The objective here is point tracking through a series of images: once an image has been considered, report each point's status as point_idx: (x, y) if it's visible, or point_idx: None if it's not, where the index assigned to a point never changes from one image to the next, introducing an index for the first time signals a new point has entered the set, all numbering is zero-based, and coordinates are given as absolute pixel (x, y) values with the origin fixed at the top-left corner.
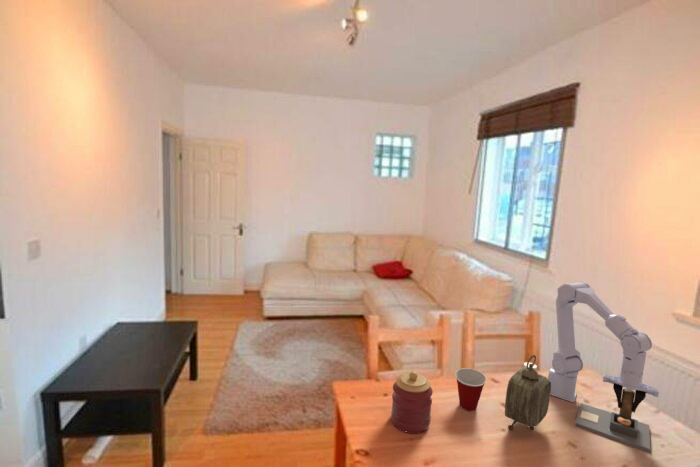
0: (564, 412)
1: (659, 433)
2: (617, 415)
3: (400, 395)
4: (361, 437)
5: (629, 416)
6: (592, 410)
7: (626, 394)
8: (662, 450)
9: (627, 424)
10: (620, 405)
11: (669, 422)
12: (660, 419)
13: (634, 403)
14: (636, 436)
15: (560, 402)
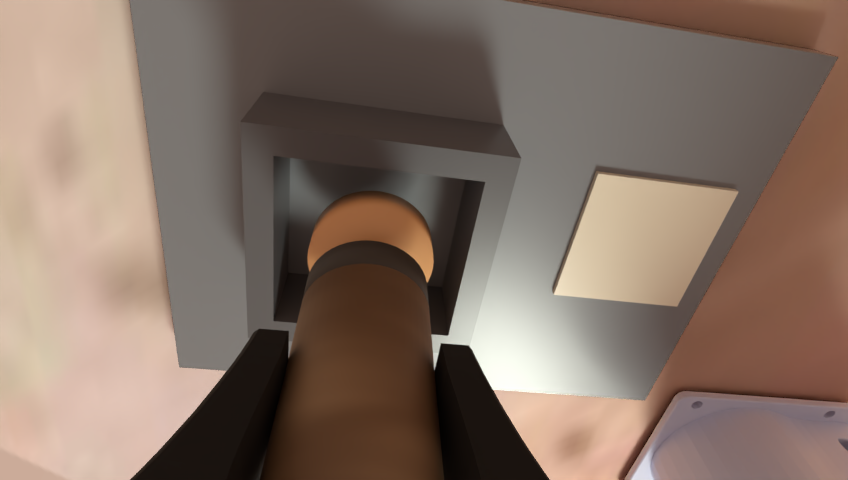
0: (816, 229)
1: (111, 318)
2: None
3: None
4: None
5: (323, 279)
6: (581, 347)
7: None
8: (42, 61)
9: (344, 206)
10: (451, 373)
11: (79, 467)
12: (131, 471)
13: (230, 461)
14: (261, 101)
15: (782, 349)
